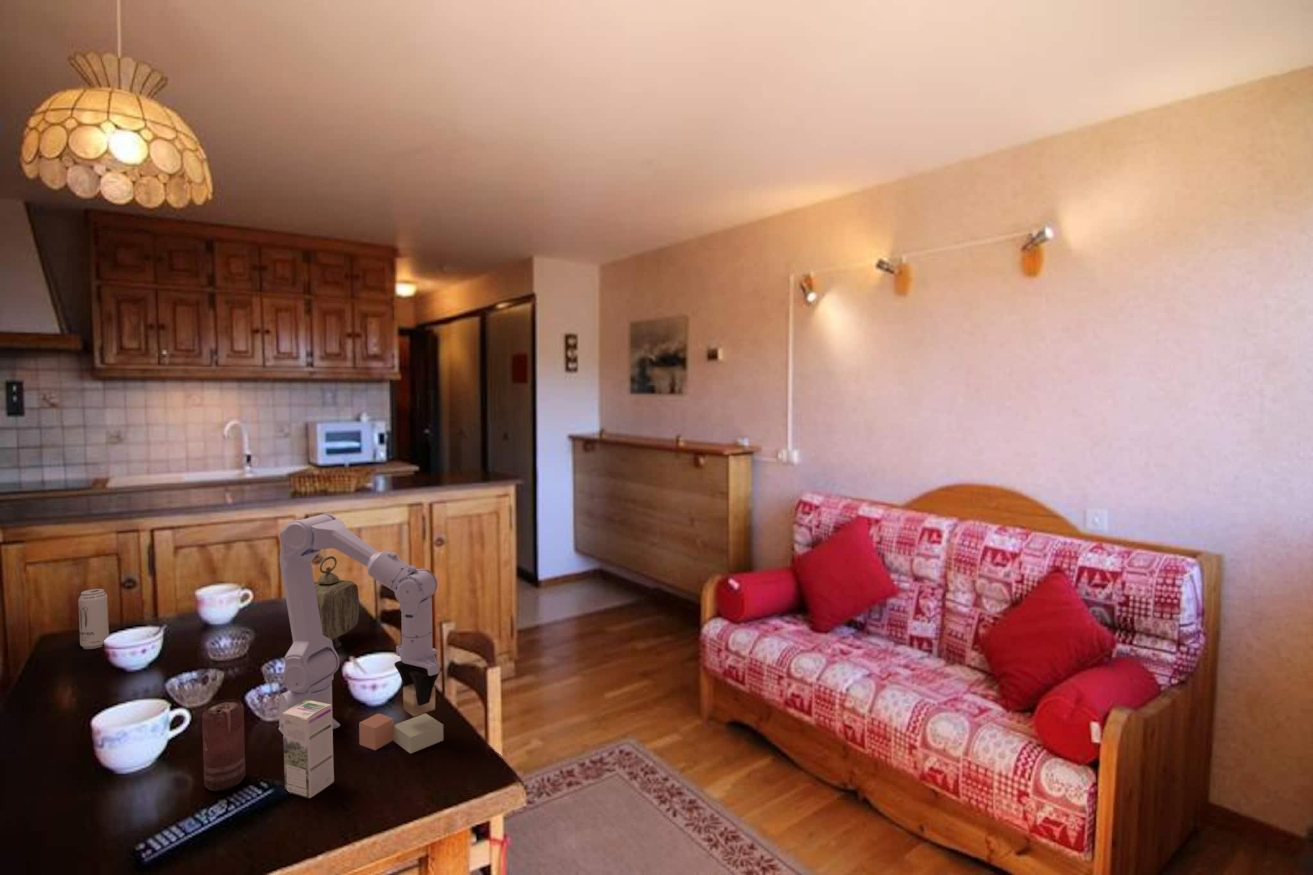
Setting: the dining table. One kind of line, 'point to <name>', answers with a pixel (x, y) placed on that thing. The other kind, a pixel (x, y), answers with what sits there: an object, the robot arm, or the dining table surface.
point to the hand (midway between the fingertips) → (417, 699)
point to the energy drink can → (93, 618)
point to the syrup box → (308, 748)
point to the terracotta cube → (376, 731)
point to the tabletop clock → (336, 603)
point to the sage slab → (418, 733)
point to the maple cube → (411, 701)
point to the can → (223, 744)
